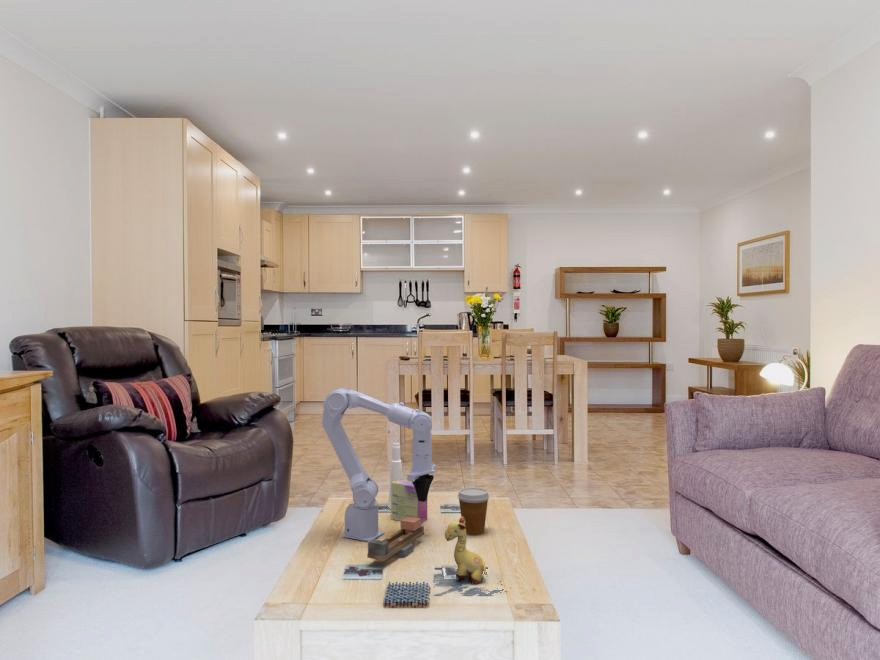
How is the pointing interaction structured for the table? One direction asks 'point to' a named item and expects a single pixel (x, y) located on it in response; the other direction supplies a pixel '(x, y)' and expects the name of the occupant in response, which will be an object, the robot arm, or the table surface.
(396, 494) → the box
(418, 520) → the block
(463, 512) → the disposable coffee cup
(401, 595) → the spiky bristle mat
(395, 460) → the cosmetic bottle
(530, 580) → the table surface
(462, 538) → the stuffed giraffe
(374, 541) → the beam
